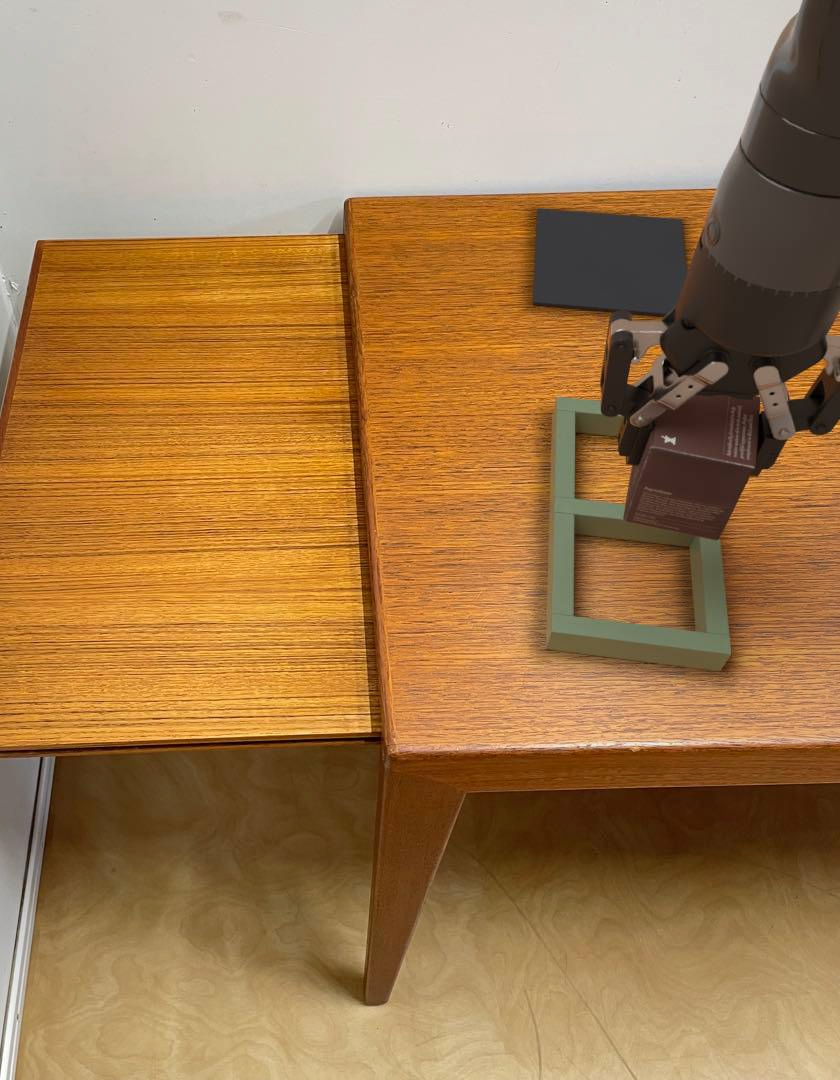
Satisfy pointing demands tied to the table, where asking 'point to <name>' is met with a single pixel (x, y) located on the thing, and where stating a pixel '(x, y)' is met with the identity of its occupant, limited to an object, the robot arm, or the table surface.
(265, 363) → the table surface
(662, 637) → the rack
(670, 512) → the box
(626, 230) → the mat
